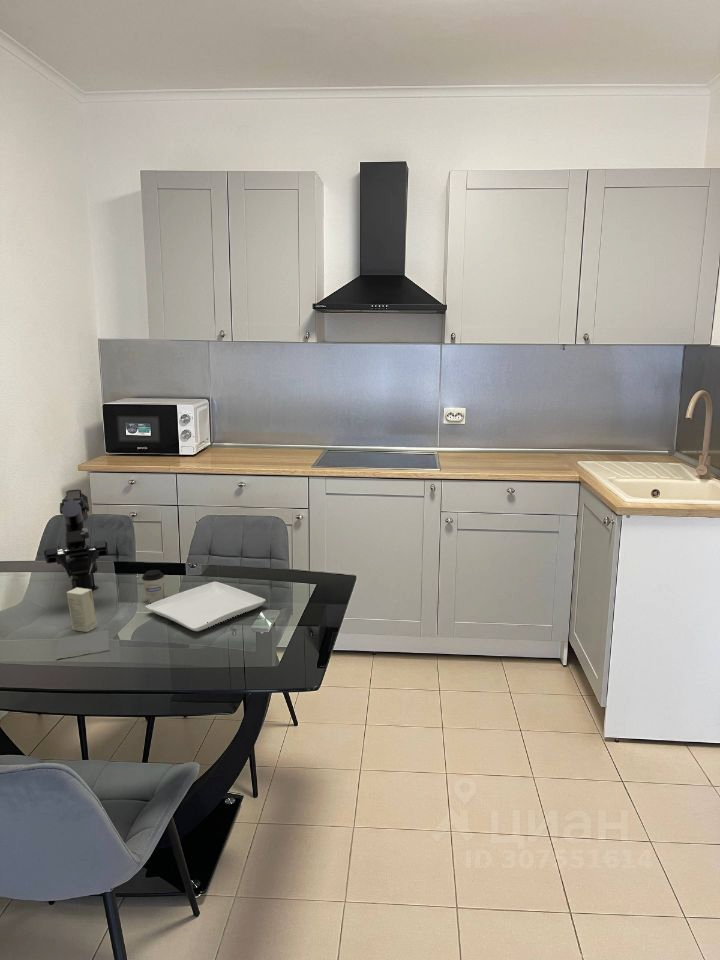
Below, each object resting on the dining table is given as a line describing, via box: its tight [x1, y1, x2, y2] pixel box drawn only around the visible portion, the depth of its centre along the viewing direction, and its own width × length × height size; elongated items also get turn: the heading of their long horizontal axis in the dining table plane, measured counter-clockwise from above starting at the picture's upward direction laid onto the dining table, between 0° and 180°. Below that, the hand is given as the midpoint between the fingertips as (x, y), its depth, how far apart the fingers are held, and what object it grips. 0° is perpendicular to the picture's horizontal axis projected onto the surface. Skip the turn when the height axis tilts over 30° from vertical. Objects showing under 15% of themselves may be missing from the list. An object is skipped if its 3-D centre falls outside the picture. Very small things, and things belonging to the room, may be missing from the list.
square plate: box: [145, 581, 267, 632], centre depth 230 cm, size 27×27×4 cm
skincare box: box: [66, 587, 98, 633], centre depth 220 cm, size 6×4×12 cm
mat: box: [56, 629, 110, 653], centre depth 210 cm, size 14×14×1 cm
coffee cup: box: [141, 569, 165, 604], centre depth 238 cm, size 7×7×10 cm
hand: (79, 575), depth 229 cm, fingers open, 5 cm apart
